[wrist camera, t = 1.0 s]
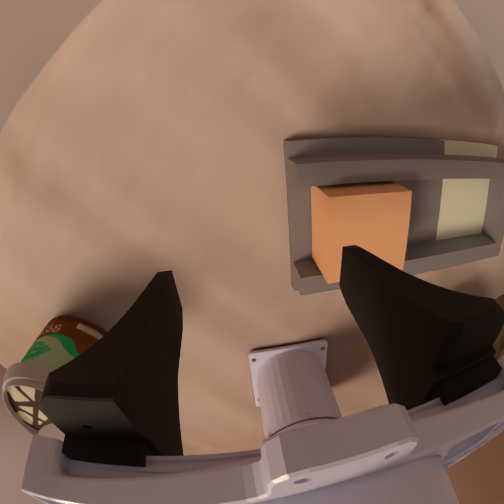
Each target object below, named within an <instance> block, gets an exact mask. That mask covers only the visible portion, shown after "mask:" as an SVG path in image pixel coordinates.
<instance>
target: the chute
mask: <svg viewBox="0 0 504 504" xmlns="http://www.w3.org/2000/svg"><path fill="white" fill-rule="evenodd" d="M283 141H284V155H285V169H286V184H287V200H288V218H289V238H290V260H291V284H292V287H293V289H294V290H299V292H300V294H301V295H306V294H312V293H318V292H324V291H330V290H336V289H340V286H339V282H336V283H330V284H328V283H327V281H326V280H325V278H324V276H323V274H322V273H321V271H320V269H319V268H318V266H317V264H316V263H315V261H314V259H313V258H312V216H311V186H322V185H335V184H348V183H362V182H379V181H393V182H395V183H397V184H399V185H401V186H403V187H405V188H407V189H409V190H411V191H412V198H411V210H410V221H409V230H408V238H407V246H406V253H405V260H404V267H403V271H404V272H406V273H408V274H410V275H415V274H419V273H424V272H429V271H433V270H438V269H442V268H447V267H451V266H456V265H460V264H464V263H468V262H473V261H477V260H481V259H485V258H489V257H493V256H497V255H499V251H500V247H501V243H502V239H503V234H504V160H502V159H499V158H497V146H495V145H492V144H485V143H476V142H466V141H456V140H443V139H428V138H407V137H331V138H309V139H292V140H283Z"/></svg>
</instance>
